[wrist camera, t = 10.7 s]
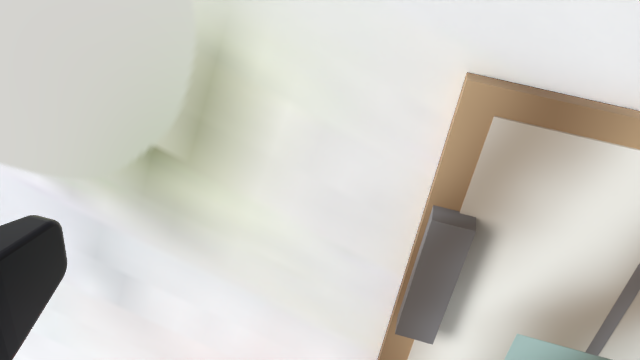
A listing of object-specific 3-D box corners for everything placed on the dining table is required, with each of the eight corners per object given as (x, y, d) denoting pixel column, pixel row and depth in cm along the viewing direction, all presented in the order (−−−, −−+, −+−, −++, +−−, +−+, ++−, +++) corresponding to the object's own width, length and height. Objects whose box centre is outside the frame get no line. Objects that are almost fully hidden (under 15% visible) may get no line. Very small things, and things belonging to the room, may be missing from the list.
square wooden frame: (989, 189, 17) (1036, 221, 16) (711, 475, 26) (726, 512, 24) (467, 72, 19) (466, 91, 17) (372, 376, 27) (366, 406, 26)
